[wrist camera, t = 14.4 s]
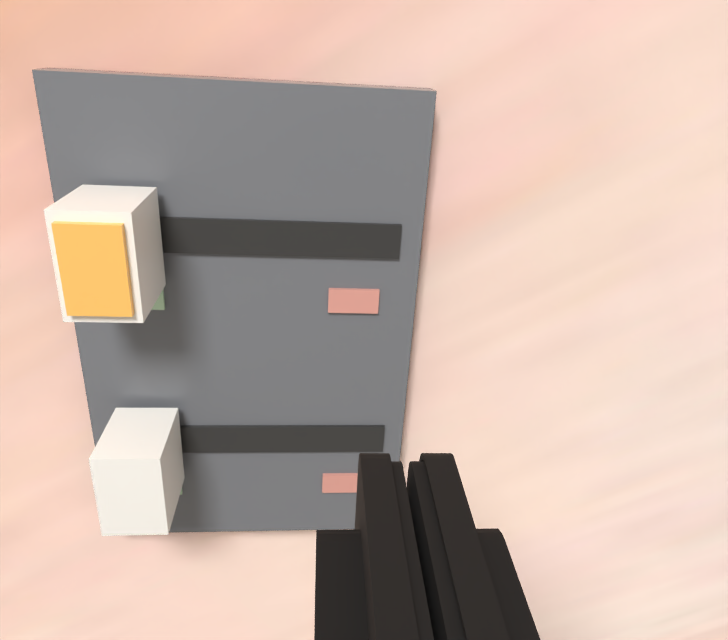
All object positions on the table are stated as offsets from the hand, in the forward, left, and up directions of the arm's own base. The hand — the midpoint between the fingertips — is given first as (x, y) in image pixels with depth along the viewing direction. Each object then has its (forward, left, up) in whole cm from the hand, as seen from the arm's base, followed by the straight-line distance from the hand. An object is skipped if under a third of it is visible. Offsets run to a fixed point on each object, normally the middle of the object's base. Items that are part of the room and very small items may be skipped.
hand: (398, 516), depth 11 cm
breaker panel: (+4, +6, -19) cm, 21 cm away
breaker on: (+9, +11, -17) cm, 23 cm away
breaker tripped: (+10, +1, -17) cm, 20 cm away
